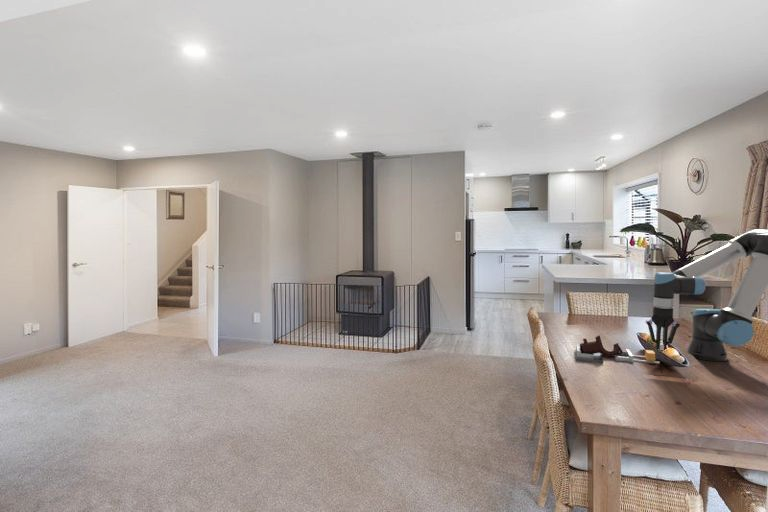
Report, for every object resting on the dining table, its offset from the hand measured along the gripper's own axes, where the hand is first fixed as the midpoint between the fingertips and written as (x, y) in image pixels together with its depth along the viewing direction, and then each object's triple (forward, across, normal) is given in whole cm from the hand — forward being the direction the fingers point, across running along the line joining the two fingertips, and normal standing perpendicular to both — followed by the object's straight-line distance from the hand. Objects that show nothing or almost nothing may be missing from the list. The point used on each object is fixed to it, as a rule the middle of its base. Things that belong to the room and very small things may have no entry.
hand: (660, 357), depth 186 cm
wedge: (+2, +4, 0) cm, 4 cm away
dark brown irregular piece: (+2, +24, -1) cm, 24 cm away
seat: (+3, +18, 0) cm, 18 cm away
